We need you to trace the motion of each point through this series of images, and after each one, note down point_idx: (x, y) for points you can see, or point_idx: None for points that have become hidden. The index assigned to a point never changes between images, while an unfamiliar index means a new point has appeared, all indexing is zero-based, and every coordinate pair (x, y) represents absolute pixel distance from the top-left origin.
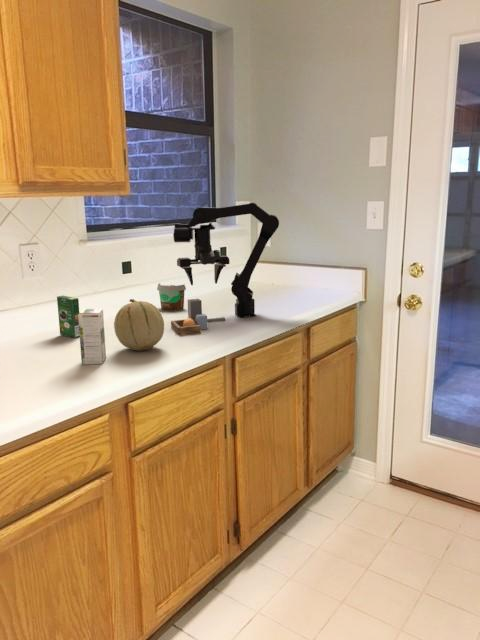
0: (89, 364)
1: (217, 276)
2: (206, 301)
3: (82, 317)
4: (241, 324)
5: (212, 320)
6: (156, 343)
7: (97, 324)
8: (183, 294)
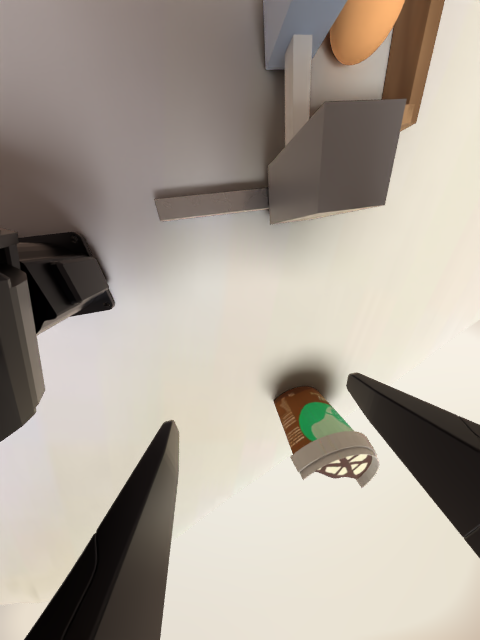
0: None
1: (133, 498)
2: (206, 461)
3: None
4: (53, 51)
5: (216, 194)
6: None
7: None
8: (291, 437)
